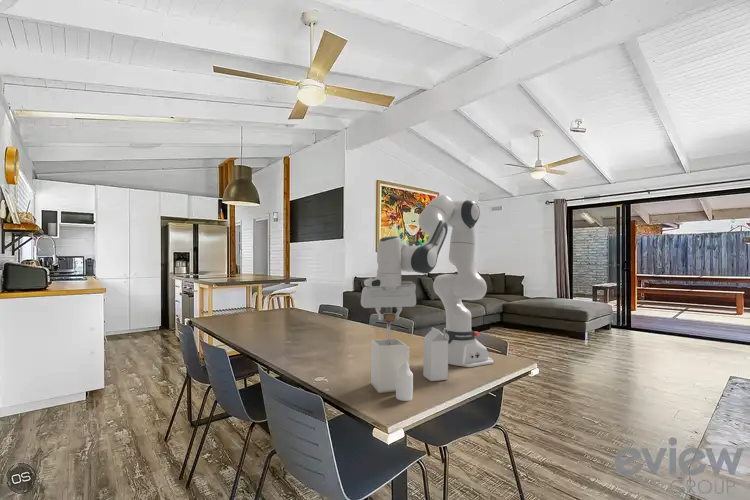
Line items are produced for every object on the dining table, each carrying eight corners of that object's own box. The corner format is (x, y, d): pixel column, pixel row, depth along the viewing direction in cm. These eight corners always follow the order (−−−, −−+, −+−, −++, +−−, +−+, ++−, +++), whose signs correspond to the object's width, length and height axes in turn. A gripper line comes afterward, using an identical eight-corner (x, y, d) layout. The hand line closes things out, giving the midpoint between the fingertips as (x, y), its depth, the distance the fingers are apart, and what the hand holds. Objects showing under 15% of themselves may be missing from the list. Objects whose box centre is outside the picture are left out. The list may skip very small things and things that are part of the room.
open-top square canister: (403, 380, 142) (403, 338, 142) (413, 389, 132) (414, 344, 132) (370, 383, 138) (371, 340, 138) (378, 393, 128) (379, 346, 129)
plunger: (395, 353, 140) (395, 311, 140) (402, 359, 132) (403, 315, 132) (374, 355, 137) (374, 312, 138) (381, 360, 130) (381, 316, 130)
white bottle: (392, 360, 126) (406, 358, 129) (392, 396, 126) (406, 393, 129) (402, 364, 121) (417, 362, 124) (402, 402, 121) (416, 399, 123)
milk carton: (430, 381, 141) (431, 330, 141) (423, 375, 148) (423, 327, 148) (448, 380, 143) (448, 330, 143) (439, 374, 150) (440, 326, 150)
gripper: (412, 280, 141) (412, 317, 141) (359, 280, 135) (359, 319, 135) (419, 281, 135) (418, 319, 135) (364, 282, 129) (363, 322, 129)
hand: (388, 319), depth 135 cm, fingers closed on plunger, 4 cm apart
